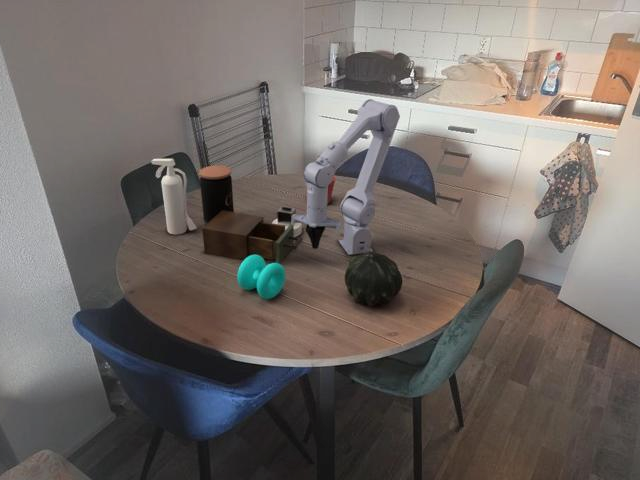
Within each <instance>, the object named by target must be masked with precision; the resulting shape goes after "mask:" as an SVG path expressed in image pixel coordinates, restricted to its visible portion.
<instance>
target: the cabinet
mask: <svg viewBox="0 0 640 480" xmlns="http://www.w3.org/2000/svg"><path fill="white" fill-rule="evenodd" d="M261 222H265V216H260V215H256V214H255V215H254V214H249V213H243V212H236V211H234V212H230V211H224V210H222V211H221V212H220V213H219V214H218V215H216V216H215V217H214V218H213V219H212V220H211V221H210V222H209V223H207V222H206V224H205V225H204V226H203V227H202V228H201V229H202V239H203V249H204V254H210V255H214V256H220V257H226V258H231V259H236V260H241V261H244V260H245V259H246V258H247V257H248V256H250V255H248V241H247V237H248V236H249V235H250V233H251V232H252V231H253V230H254V229H255V228H256V227H257V226H258V225H259V224H260V223H261Z"/></svg>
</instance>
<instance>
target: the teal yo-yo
mask: <svg viewBox="0 0 640 480" xmlns="http://www.w3.org/2000/svg"><path fill="white" fill-rule="evenodd" d="M237 282H238V285H239V286H240V288H241V289H243V290H246V291H251V290H254V289H256V291H257V294H258V295H259V297H261V298H262V299H265V300H270V299H273V298H275V297H277V296H278V294H280V292H281V290H282V289H283V287H284V285H285V283H286V270H285V268H284V267H283V265H282V264H281V263H276V262H272V263H268V264H266V261H265V258H262V257H261V256H259V255H250V256H248V257H247V258H246V259H245V260H242V262H241V264H240V265H239V268H238V270H237Z"/></svg>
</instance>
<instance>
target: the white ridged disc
mask: <svg viewBox="0 0 640 480" xmlns="http://www.w3.org/2000/svg"><path fill="white" fill-rule="evenodd" d="M271 223H273V224H278V217H277V218H276V219H273V221H272V222H271ZM279 225H281V224H279ZM293 225H294V237H296V238H298V237H300V235H301V234H302V232H303V229H302V228H303V223H297V222H296V223H294V224H293ZM288 227H289V226H287V225H285V230H286V229H287V228H288Z"/></svg>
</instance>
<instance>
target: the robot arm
mask: <svg viewBox="0 0 640 480" xmlns="http://www.w3.org/2000/svg"><path fill="white" fill-rule="evenodd" d="M356 114H357V116H356V118H355V119H354V120H353V121H352V123H350V125H349V127H348V128H347V130H346V131H345V132H344V134H343V135H342V136H341V137H340V139H339V140H338V141H337V140H336V141H332V142H331V143H329V144H328V145H327V147H326V149H325V150H324V151H323V152H322V153H321V154H320V156H319V157H318V158H317V159H316V160H315V161H312V162H310V163H308V164H307V165H306V166H305V168H304V171H303V172H302V178H303V180H304V181H305V187H306V189H307V190H306V214H297V213H296V214H294V215H293V216H292V223H296V222H297V223H302V225H303V224H304V225H306V227H305V233H306V234H307V235H308V238H309V241H310V244H311V248H312V249H314V250H318V248H319V246H320V241H321V239H322V236H323V234H324V231H325V230H326V228H328V229H334V230H336V231H341V230H342V225H344V226H343V239H338V242H339V244H340V245H341V246H342V248H343V249H344V251H345V252H346V254H347V255H349V256H353V255H361V254H364V253H366V252H369V251H372V252H374V250H373V249H372V247H371V243H372V232H371V230H370V228H369V224H370V223H371V222H372V220H373V219H374V217H375V215H376V206H377V200H376V198H375V196H374V194H373V192H374V190H375V186H376V184H377V181H378V178H379V176H380V172H381V170H382V167H383V164H384V162H385V159H386V157H387V154H388V151H389V149H390V145H391V143H392V140H393V137H394V134H395V131H396V129H397V125H398V123H399V120H400V117H401V116H400V112H399V109H398V107H397V106H396V105H395V104H388V103H384V102H381V101H377V100H374V99H371V98H368V99H366V100H365V101H364V102H363V103H362V104H361V106H360V107H359V108H358V109H357V113H356ZM367 131H370V132H371V135H372V138H371V141H370V144H369V147H368V150H367V152H366V156H365V158H364V161H363V164H362V166H361V170H360V172H359V175H358V178H357V181H356V184H355V186H354V187H353V188H351V189H349V190H347V192H346V193H345V196H344V198H343V199H342V201H341V202H340V206H339V211H340V213H341V214H342V216H343V219H344V224H343V221H340V220H336V219H334V218H331V217H327V215H328V204H327V195H328V185H329V184H330V183H331V182H332V180H333V176H335V174H336V170H337V169H338V168H339V167H340V166H341V165H342V163H343V162H344V161H345V160H346V159H347V158H348V156H349V149H351V147H352V146H353V145H354V144H355V143H357V141H358V140H360V138H361V137H363V135H365V134H366V132H367Z"/></svg>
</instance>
